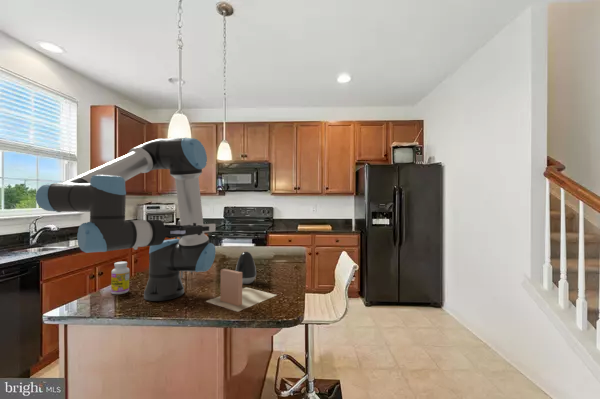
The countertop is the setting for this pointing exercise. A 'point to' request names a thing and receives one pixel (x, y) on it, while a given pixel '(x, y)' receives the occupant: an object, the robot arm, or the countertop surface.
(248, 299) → the cloth
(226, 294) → the tile
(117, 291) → the supplement bottle
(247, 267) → the black glossy egg shape
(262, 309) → the countertop surface
